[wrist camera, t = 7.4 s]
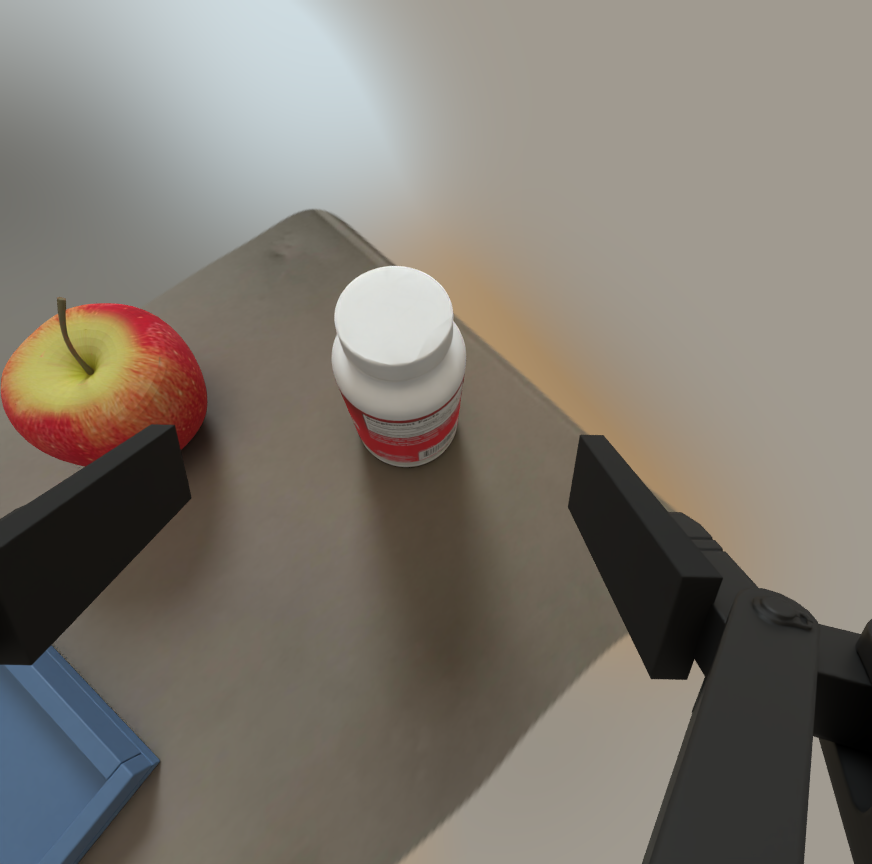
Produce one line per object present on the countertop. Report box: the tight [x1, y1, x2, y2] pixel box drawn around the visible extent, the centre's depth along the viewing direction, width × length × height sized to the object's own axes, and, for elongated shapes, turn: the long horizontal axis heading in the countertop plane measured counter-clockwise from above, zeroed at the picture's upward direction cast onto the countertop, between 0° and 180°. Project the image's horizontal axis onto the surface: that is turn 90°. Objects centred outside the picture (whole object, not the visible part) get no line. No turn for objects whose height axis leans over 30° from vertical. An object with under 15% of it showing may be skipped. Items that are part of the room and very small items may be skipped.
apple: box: [1, 297, 207, 466], centre depth 23 cm, size 8×8×10 cm
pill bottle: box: [332, 266, 466, 467], centre depth 22 cm, size 6×6×11 cm
